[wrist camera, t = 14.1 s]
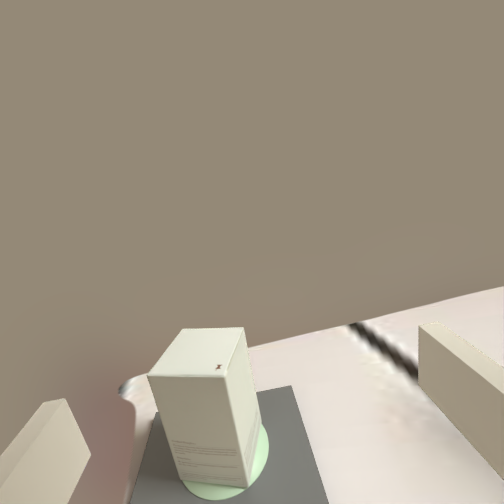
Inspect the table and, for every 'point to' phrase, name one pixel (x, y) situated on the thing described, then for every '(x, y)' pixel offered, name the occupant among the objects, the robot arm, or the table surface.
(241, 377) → the supplement box
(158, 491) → the charging pad
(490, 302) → the table surface
